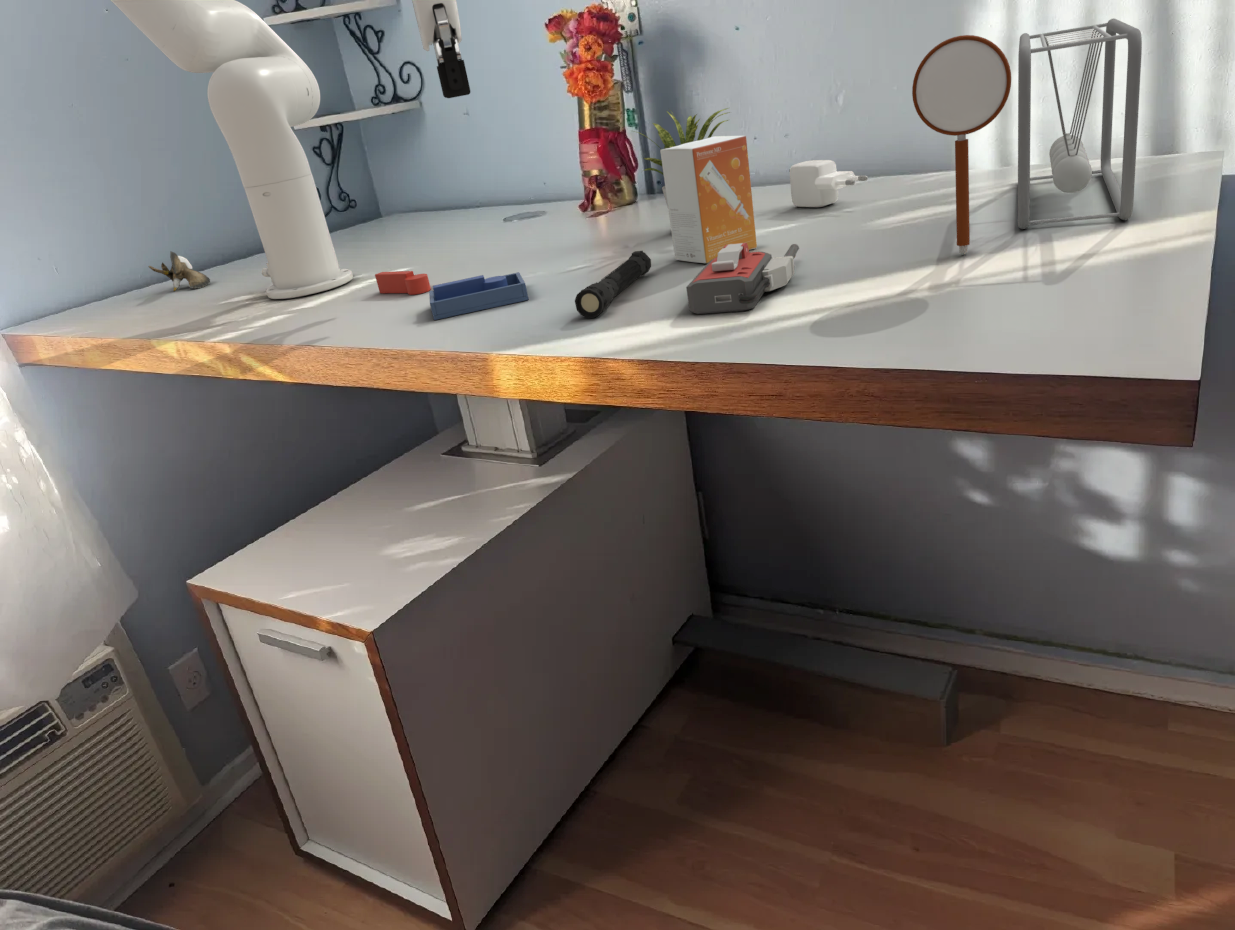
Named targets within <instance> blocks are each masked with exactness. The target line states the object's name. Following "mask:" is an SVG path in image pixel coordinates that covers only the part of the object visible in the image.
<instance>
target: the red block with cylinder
mask: <svg viewBox="0 0 1235 930" xmlns="http://www.w3.org/2000/svg"><path fill="white" fill-rule="evenodd" d="M374 277H375V280H376V285H377V287H378V292H379V294H408V295H409V296H414V295H420V294H424V293H429V291H432V287H431V283H430V280H429V276H428V273H416V274H414V271H413V270H397V271H380V272H377V273H375V274H374Z"/></svg>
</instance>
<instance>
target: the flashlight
mask: <svg viewBox="0 0 1235 930" xmlns="http://www.w3.org/2000/svg"><path fill="white" fill-rule="evenodd" d="M651 268H652V259H651V257H649V256H648V254H647V253H646V252H644V251H643V250H634V251H633V252H632V253H631V255H630V256H629V257H628V259H627V260H625V261H624V262H623V263H621V264H620V265H619V266H617V267H616V268H615V269H614V270H612V271H610V273H608V274H607V275H606V276H604V277H603V278H602V279H601V280H600V281H599V282H597V281H596V282H594V283H591V284H590V285H587V286H586V287H584V288H583V289H581V290H580V291H579V292H578V293H577V294H576V296H575V299H574V304H575V309H576V311H577V312H578V314H579V315H580V316H582V317H584V318H586V319H594V318H597V317H598V316H599V315H600V314H602V313H603V312H604V310H606V309H607V308H608V307H609V306H610V305H611V303H612V301H613V299H614V298H616V297H617V296H618V295H620V293H622V292H624V290H625V289H626V288H628V287H629V286H630V285H631V284H633V283H634V282H635V281H636V280H638V279H640V277H642V276H645V275H646V274H648V273H650V270H651Z"/></svg>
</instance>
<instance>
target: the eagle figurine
mask: <svg viewBox="0 0 1235 930" xmlns="http://www.w3.org/2000/svg"><path fill="white" fill-rule="evenodd" d="M169 257H170V263H171V267H170V269H169V268H168V266H167V265H166V264H165V263H164V262H163V261H162V262H161V264H160V265H161V266H160V268H161V269H159V268H156V267H154V266H152V265H148V268H149V269H150V270H151V271H153V272H155V273H158V274H162V275H164V276H166V277H167V278H169V279H170V280H171V282H172V283H173V284H172V285H173V292H176V290H177V289H178V288H179V287H181V286H180V285H181V282H182V281H183V280H184V279H185V280H186V281H187V282H188V286H189V288H190V289H201V288H204V287H206V286H208V285H210V283H211V279H210V278H209V277H208V276H207V275H206V274H204V273H202V272H200V271H197V270H194V269H193V265H192V264H191V263H190V261H189V260H188V258H186V257H184V256H182V255H178V254H177V253H176V252H173V251H171V250H170V253H169Z"/></svg>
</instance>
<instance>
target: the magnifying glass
mask: <svg viewBox="0 0 1235 930" xmlns="http://www.w3.org/2000/svg"><path fill="white" fill-rule="evenodd" d="M1011 87H1012V71H1011V66H1010V64H1009V60H1008V58H1007V56H1006V54H1005V53H1004V52H1003V51H1002V49H1001V48H1000V47H999V46H998V45H997V44H996V43H994V42H993V41H992V40H989V39H987V38H986V37H982V36H979V35H973V34H964V35H957V36H953V37H950V38H948V39H945V40H943V41H941V42H939V43H938V44H937V45H936V46H934V47H933V48H932V49H931V50H929V51H928V52H927V54H926V55H925V56H924V57H923V58H922V59H921V61H920V63H919V65H918V67H917V69H916V71H915V74H914V77H913V80H912V88H911V96H912V102H913V107H914V109H915V112H916V113H917V115H918V117H919V118H920V119H921V121H922V122H923V123H924V125H926V126H927V127H929V128H930V129H931V130H932V131H934V132H936V133H939V134H942V135H946V136H953V137H954V136H956V137H957V138H956V140H954V167H955V170H954V171H955V172H954V173H955V214H956V215H955V219H956V223H955V224H956V247H957V246H958V253H960V254H961V255H962V256H963V255H964V256H965V255H966V254H967V253H968V246H969V245H970V240H971V239H970V235H971V234H970V165H969V163H970V161H969V160H970V159H969V138H967V135H969V134H973V133H976V132H978V131H980V130H982V129H983V128H985V127H987V126H988V125H989V124H991V123H992V122H993V121H994V120H995V119H996V118H997V117H998V115H999V114H1000V113H1001V112H1002V110H1003V109H1004V107H1005V106H1006V103H1007V101H1008V99H1009V96H1010V92H1011Z"/></svg>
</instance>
